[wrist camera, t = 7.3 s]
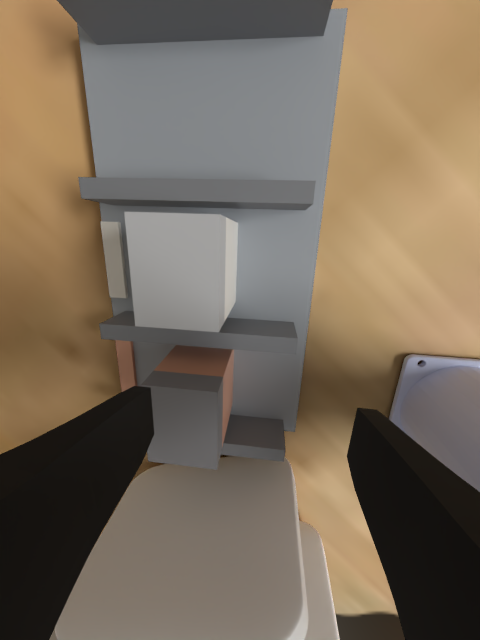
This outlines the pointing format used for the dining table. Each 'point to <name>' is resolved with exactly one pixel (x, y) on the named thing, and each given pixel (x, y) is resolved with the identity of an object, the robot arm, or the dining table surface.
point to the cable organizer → (205, 561)
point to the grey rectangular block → (182, 269)
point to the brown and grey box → (191, 405)
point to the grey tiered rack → (217, 173)
